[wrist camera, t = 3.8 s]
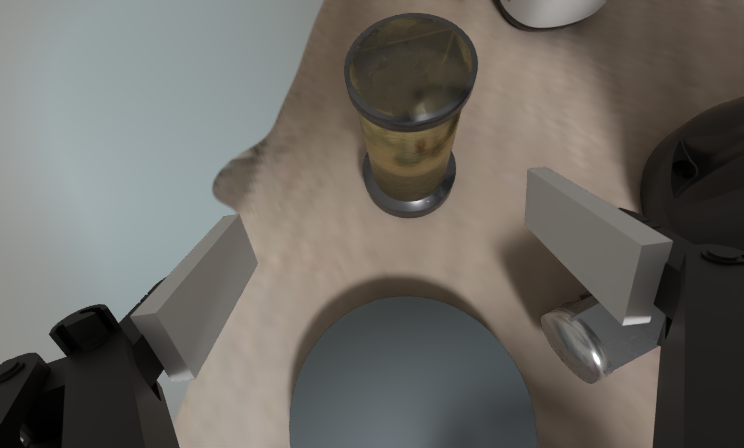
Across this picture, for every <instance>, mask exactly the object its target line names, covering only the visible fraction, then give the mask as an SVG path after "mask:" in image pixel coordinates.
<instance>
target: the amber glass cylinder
mask: <svg viewBox="0 0 744 448" xmlns="http://www.w3.org/2000/svg"><path fill="white" fill-rule="evenodd" d="M477 70H478V60H477V54H476V50H475V48H474V45H473V43H472V41H471V40H470V39H469V37H468V36H467V35H466V34H465V32H464V31H463V30H462V29H460V28H459V27H458V26H457V25H455V24H453V23H452V22H450V21H448V20H446V19H444V18H441V17H438V16H434V15H430V14H423V13H408V14H400V15H395V16H392V17H389V18H386V19H383V20H381V21H379V22H377V23H375V24H373V25H372V26H370V27H369V28H368V29H366V30H365V31H364V32H363V33H362V34H361V35H360V36H359V37H358V38H357V39H356V40H355V42H354V43H353V44H352V46H351V48H350V50H349V52H348V54H347V57H346V61H345V66H344V75H345V81H346V85H347V89H348V93H349V96H350V99H351V101H352V103H353V105H354V107H355V108H356V110H357V111H358V113H359V117H360V121H361V126H362V130H363V134H364V138H365V143H366V147H367V151H368V152H367V154H366V156H365V160H364V164H363V176H364V181H365V184H366V187H367V191H368V193H369V195H370V197H371V199H372V200H373V202H374V203H375V204H376V205H377V206H378V207H379V208H380V209H382V210H383V211H384V212H386V213H388V214H390V215H393V216H396V217H401V218H416V217H421V216H425V215H427V214H429V213H431V212H433V211H435V210H436V209H437V208H439V207H440V206H441V205H442V204H443V203H444V201H445V200H446V199H447V197H448V195H449V193H450V191H451V188H452V185H453V182H454V179H455V174H456V163H455V158H454V155H453V153H452V151H451V149H452V145H453V141H454V138H455V134H456V130H457V126H458V122H459V118H460V114H461V110H462V108H463V107H464V105H465V104H466V103H467V101H468V99H469V97H470V95H471V92H472V90H473V86H474V82H475V79H476V75H477Z"/></svg>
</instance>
